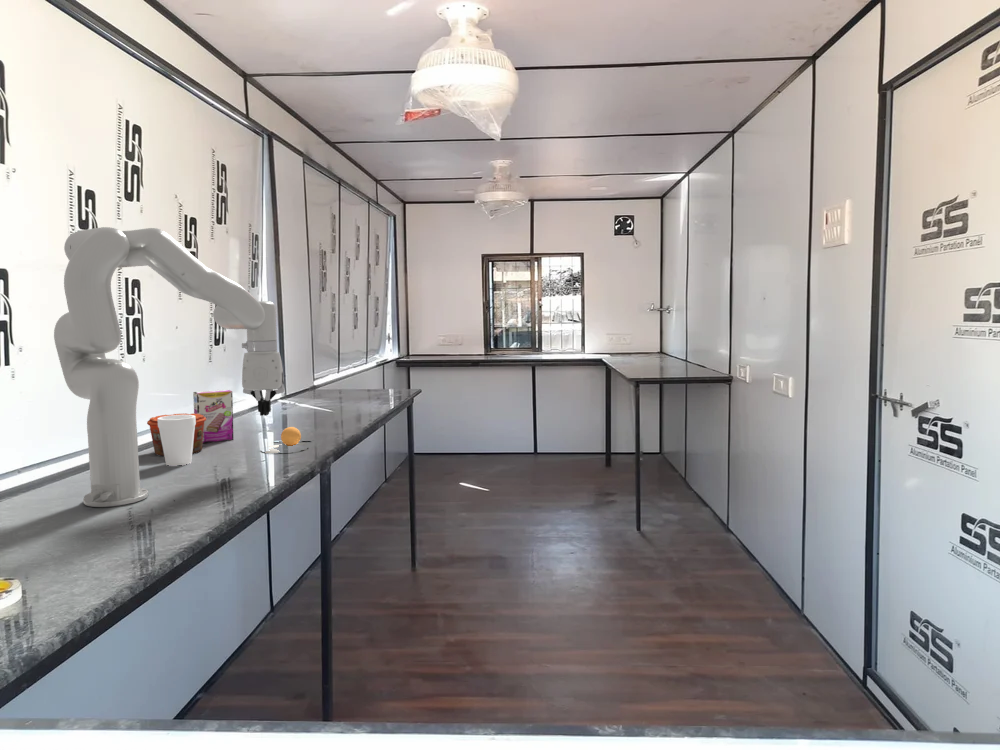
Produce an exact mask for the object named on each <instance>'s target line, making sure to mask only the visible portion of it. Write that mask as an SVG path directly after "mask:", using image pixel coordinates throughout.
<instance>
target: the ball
mask: <svg viewBox="0 0 1000 750" xmlns="http://www.w3.org/2000/svg"><path fill="white" fill-rule="evenodd" d="M280 435H281V436H280V441H282V442H281V443H283V444H285V445H287V446H293V445H296V444H300V442H299V441H300V440H302V434H301V431H300V430H299V429H298V428H297V427H295V426H289V427H286V428H284V429H283V430H282V432H281V434H280Z"/></svg>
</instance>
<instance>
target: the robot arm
mask: <svg viewBox="0 0 1000 750" xmlns="http://www.w3.org/2000/svg"><path fill="white" fill-rule="evenodd" d="M63 248H64V249H63V250H64V253H65V255H66V258H67V259H68V260H69V261H68V263H67V265H66V267H65V271H64V275H63V276H64V277H63V290H64V294H65V301H66V305H67V309H68V312H65V313H64V314H63V315H61V316H60V317H59V318H58V320H57V321H56V323H55V324H54V330H53V340H54V345H55V348H56V353H57V357H58V360H59V364H60V368H61V371H62V375H63V378H64V381H65V383H66V386H67V387H68V389H69V391H70V392H71V393H73V394H74V395H75V396H77V397H78V398H81V399H84V400H89V403H88V405H89V406H88V409H87V414H86V415H87V417H86V429H87V430H86V431H87V445H88V447H87V448H88V462H89V479H90V492H89V493H86V494H85V495H84V496H83V499H82V501H83V505H85V506H87V507H93V508H107V507H108V508H109V507H118V506H124V505H130V504H133V503H134V504H135V503H137V502H140V501H143V500H145V499H146V498H148V496H149V491H148V489H147V488H143V487H141V481H140V479H141V478H140V461H139V444H138V443H139V441H138V427H137V402H138V395H139V388H140V387H139V386H140V384H139V377H138V375H137V372H136V370H135V368H133V367H132V366H131V365H130V364H128V363H127V362H126V361H122V360H119V359H116V358H106V354H107V353H108V354H109V353H110V352H114V350H116V349H118V347H119V345H120V344H121V340H122V332H121V327H120V324H119V319H118V315H117V311H116V307H115V303H114V299H113V294H112V280H113V279H112V278H113V276H114V273H115V271H116V270H117V269H120V268H132V267H133V268H135V267H146V266H147V267H150V268H151V269H152V271H154V272H156V273H157V274H158V275H159V276H161V277H162V278H163V279H165V280H166V281H167V282H168V283H170V284H171V285H172V286H173V287H174V288H176V289H177V290H178V291H179V292H180V293H183V294H184V295H187V296H190V297H192V298H194V299H198V300H202V301H206V302H209V303H212V304H214V305H215V307H214V309H213V312H212V317H213V319H214V321H215V323H216V324H217V325H218V326H220V327H221V328H224V329H226V330H246V342H244V343H241V348H242V349H245V350H246V352H244V353H243V360H242V371H241V373H242V374H241V386H242V388H243V390H242V393H243V394H246V395H250V396H252V397H253V398H254V399H255V400H256V402H257V412H258V413H259V415H260V416H268V415H269V414H270V413H272V412H271V411H272V408H271V407H272V403H271V400H272V399H273V398H274V397H275V396H276V395H279V394H283V393H284V392H285V391H286V390H285V387H284V383H285V382H284V381H285V379H284V378H285V377H284V370H283V361H282V357H281V353H280V351H278V341H277V338H278V337H277V311H276V309H277V308H276V304H275V303H274V302H272V301H268V300H267V301H265V300H260V301H259V300H258V299H257V298H255V297H254V296H253V294H251V293H250V292H249V291H248V290H246V289H245V288H244V287H243V286H241V285H240V284H239V283H237V282H235V281H233V280H232V279H230V278H229V277H228V278H227V277H226V276H224V275H222V274H221V273H219V272H217V271H216V270H213V269H211V268H209V267H207V266H206V265H205V264H204V263H202V261H200V260H199V259H198V258H196V256H194V255H193V254H192V253H191V252H190V251H188V250H187V248H185V247H184V246H183V245H182V244H180V242H178V241H177V240H176V239H175V238H173V236H171V235H170V234H169V233H167V232H166V231H164V230H163V229H161V228H157V227H148V228H142V229H141V228H140V229H133V230H132V229H131V230H119V229H118V228H115V227H108V226H105V227H104V226H103V227H95V228H93V227H92V228H89V229H82V230H78V231H74V232H73V233H71V234H70V235H68V237H67V238H66V240H65V242H64V247H63ZM263 391H265V396H264V393H263Z"/></svg>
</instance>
